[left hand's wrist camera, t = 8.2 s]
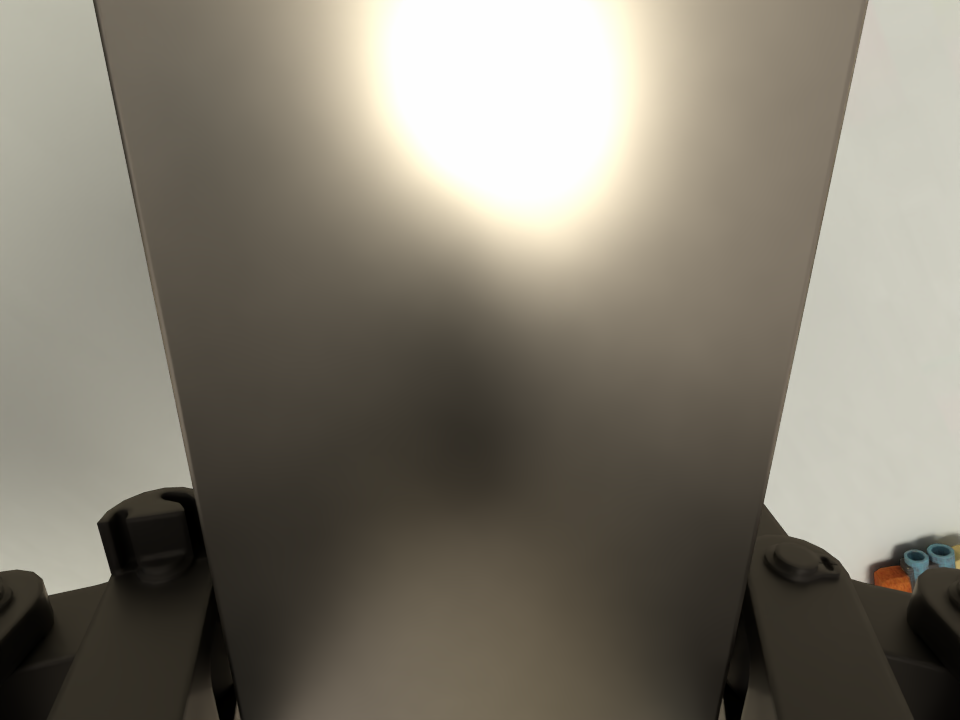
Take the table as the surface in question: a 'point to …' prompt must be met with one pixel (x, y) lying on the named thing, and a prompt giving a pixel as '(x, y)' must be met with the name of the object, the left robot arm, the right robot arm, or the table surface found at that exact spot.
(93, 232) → the table surface
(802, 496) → the table surface
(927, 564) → the toy gun
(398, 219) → the bar
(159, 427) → the table surface
